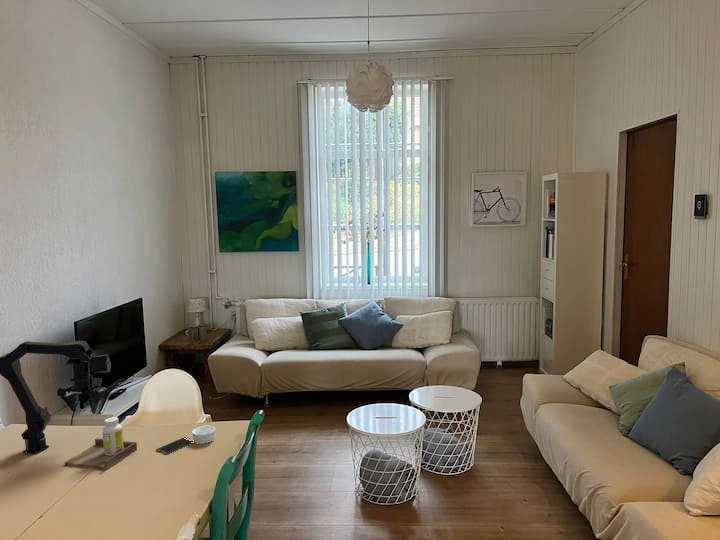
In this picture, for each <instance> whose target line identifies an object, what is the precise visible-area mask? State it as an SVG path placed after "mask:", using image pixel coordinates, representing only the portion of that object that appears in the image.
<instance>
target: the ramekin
mask: <svg viewBox="0 0 720 540" xmlns="http://www.w3.org/2000/svg"><path fill="white" fill-rule="evenodd" d="M191 432H192V433H191V434H192V437H193V438H192V439H193V440H194V442H195V443H194V444H196V443H198V444H197V445H205V444H204V443H207V444H209V443H208V442H210V443H212V442H213V441H214V440H215V438H216V437H215V436H216V435H215V434H216V427H214V426H213V425H201V426H198V427H195V428H194V429H192V431H191ZM211 441H212V442H211Z"/></svg>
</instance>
